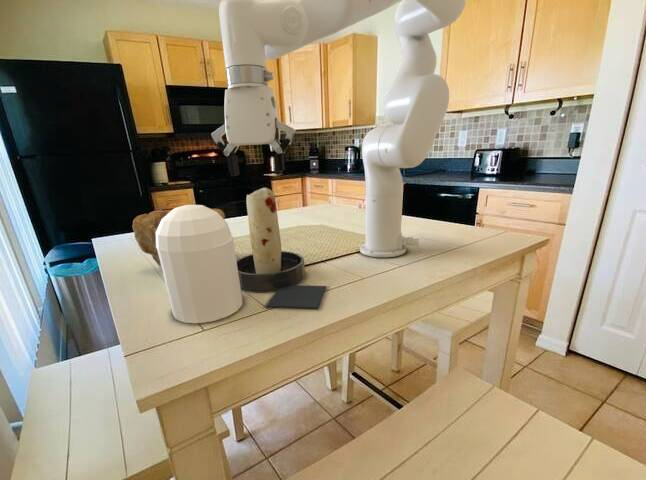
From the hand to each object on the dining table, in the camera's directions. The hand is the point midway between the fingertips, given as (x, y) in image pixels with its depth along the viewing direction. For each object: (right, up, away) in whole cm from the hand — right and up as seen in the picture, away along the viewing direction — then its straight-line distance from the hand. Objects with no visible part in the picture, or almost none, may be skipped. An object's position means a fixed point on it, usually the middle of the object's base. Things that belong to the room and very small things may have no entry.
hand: (257, 175), depth 70 cm
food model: (+2, -21, +9) cm, 23 cm away
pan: (+2, -21, +9) cm, 23 cm away
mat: (+9, -25, -2) cm, 27 cm away
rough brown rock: (-21, -19, +18) cm, 34 cm away
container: (-9, -27, -4) cm, 29 cm away
